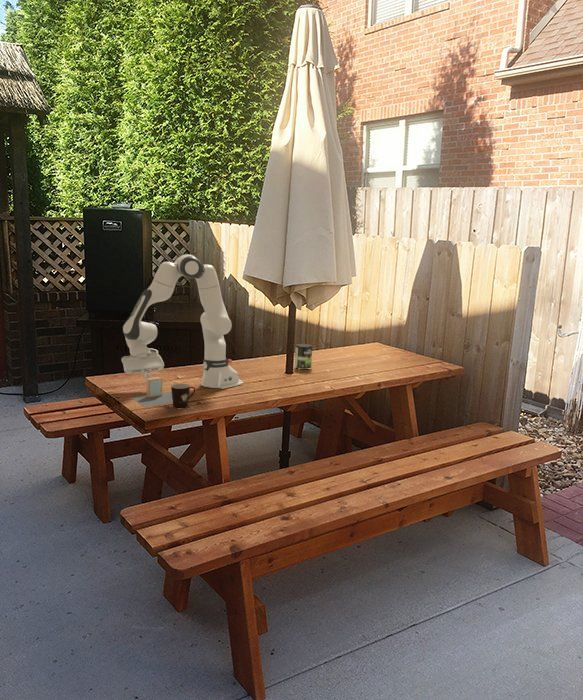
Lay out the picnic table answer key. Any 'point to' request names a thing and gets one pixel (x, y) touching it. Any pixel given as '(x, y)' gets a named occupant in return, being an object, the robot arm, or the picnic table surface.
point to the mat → (154, 399)
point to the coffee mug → (180, 395)
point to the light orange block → (154, 387)
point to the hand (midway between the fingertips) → (148, 378)
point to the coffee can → (303, 356)
